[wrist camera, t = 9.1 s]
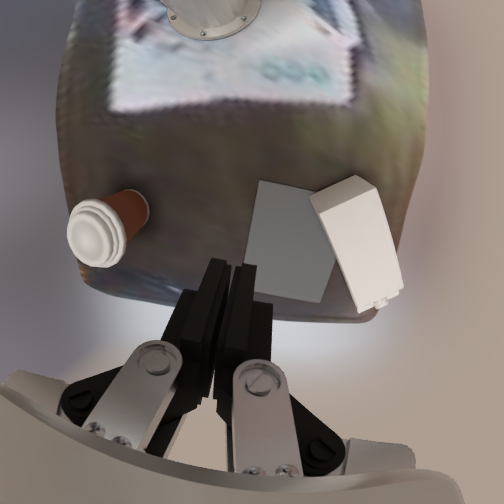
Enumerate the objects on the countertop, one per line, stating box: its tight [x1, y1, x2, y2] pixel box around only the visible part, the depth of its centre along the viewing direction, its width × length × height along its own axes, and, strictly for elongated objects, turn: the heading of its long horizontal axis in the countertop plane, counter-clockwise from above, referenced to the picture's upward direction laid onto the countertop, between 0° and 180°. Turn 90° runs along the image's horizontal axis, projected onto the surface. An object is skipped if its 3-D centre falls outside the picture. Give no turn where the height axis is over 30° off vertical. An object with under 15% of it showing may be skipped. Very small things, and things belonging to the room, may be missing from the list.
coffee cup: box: [67, 189, 150, 268], centre depth 33 cm, size 9×9×12 cm
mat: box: [244, 180, 336, 303], centre depth 38 cm, size 17×13×1 cm
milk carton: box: [309, 175, 404, 313], centre depth 34 cm, size 7×7×19 cm
